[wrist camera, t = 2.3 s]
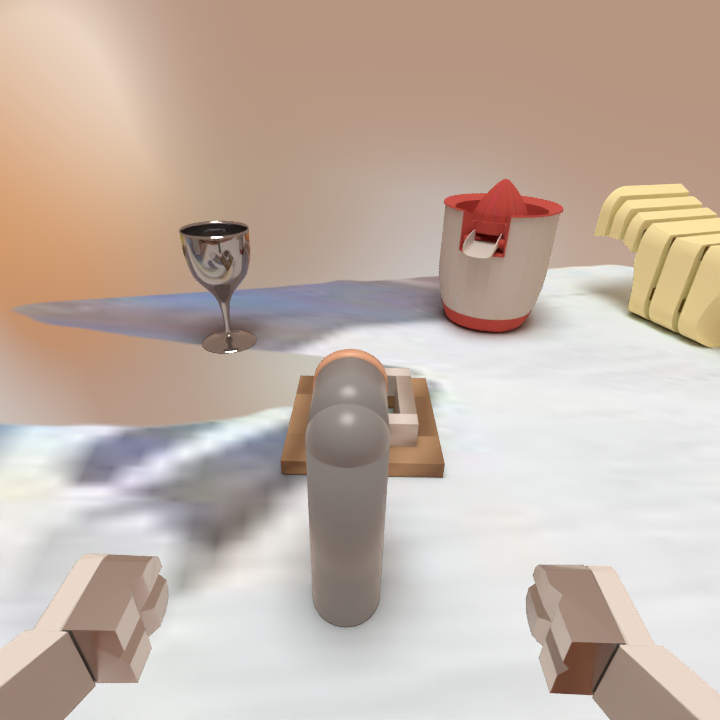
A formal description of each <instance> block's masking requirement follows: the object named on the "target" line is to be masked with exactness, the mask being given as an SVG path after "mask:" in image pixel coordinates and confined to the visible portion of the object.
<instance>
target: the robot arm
mask: <svg viewBox="0 0 720 720" xmlns="http://www.w3.org/2000/svg"><path fill="white" fill-rule="evenodd" d="M161 568H162V565H161V562H160V560H159V557H155V556H131V555H110V554H85V555H83V556H82V557H81V558H80V559H79V560H78V561H77V562H76V563H75V565H74V567H73V568H72V570H71V571H70V573H69V574H68V576H67V578H66V579H65V581H64V582H63V584H62V585H61V587H60V589H59V590H58V592H57V593H56V595H55V596H54V598H53V600H52V601H51V603H50V604H49V606H48V607H47V609H46V611H45V612H44V614H43V615H42V617H41V618H40V620H39V621H38V623H37V625H36V626H35V628H34V629H33V630H25V631H24V632H23V633H21V634H20V635H19V636H17V637H16V638H15V639H13V640H12V641H11V642H9V643H8V644H7V645H5V646H4V647H3V648H1V649H0V720H64V719H65V718H66V717H67V716H68V715H69V714H70V712H71V711H72V710H73V709H74V708H75V707H76V706H77V705H78V704H79V703H80V702H81V701H82V700H83V699H84V698H85V697H86V695H87V694H88V693H89V692H90V691H91V690H92V689H93V688H94V687H95V683H138V681H139V679H140V676H141V674H142V671H143V669H144V666H145V664H146V661H147V659H148V656H149V654H150V651H151V649H152V647H151V644H150V640H149V636H150V635H151V634H152V633H153V632H155V631H156V630H157V629H158V628H159V627H160V626H161V623H162V620H163V618H164V615H165V613H166V608H167V602H168V585H167V581H166V579H164V578H163V577H162V576H161V575H159V572H160V570H161ZM533 578H534V580H535V584H534V585H532V586H531V587H530V588H528V592H527V596H526V614H527V619H528V624H529V627H530V631H531V634H532V636H533V637H534V638H535V639H536V640H537V641H538V642H539V643H540V644H541V645H542V646H543V647H542V650H541V653H540V655H539V660H540V663H541V666H542V670H543V673H544V676H545V679H546V682H547V686H548V689H549V692H550V693H560V694H578V695H593V697H592V698H593V699H594V701H595V702H596V703H597V704H598V705H599V707H600V708H601V709H602V710H603V712H604V713H605V714H606V715H607V716H608V718H609V719H610V720H720V694H718V693H717V692H716V691H715V690H714V689H713V688H711V687H710V686H709V685H708V684H707V683H706V682H704V681H703V680H702V679H701V678H700V677H699V676H697V675H696V674H695V673H694V672H693V671H692V670H690V669H689V668H688V667H687V666H686V665H685V664H683V663H682V662H681V661H680V660H679V659H678V658H676V657H675V656H674V655H673V654H672V653H671V652H669V651H668V650H667V649H666V648H665V647H664V646H656V645H655V644H654V642H653V640H652V638H651V636H650V635H649V633H648V631H647V629H646V627H645V625H644V623H643V621H642V620H641V618H640V616H639V614H638V612H637V610H636V608H635V607H634V605H633V603H632V601H631V599H630V597H629V595H628V594H627V592H626V590H625V588H624V586H623V584H622V582H621V580H620V579H619V577H618V575H617V573H616V571H615V570H614V569H613V568H612V567H610V566H584V565H538V566H537V567H535V570H534V573H533Z"/></svg>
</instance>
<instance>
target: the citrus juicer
mask: <svg viewBox="0 0 720 720" xmlns="http://www.w3.org/2000/svg"><path fill="white" fill-rule="evenodd" d="M444 203H445V205H446V206H445V216H444V225H443V234H442V244H441V254H440V263H439V281H440V290H441V296H442V303H443V307H444V310H445V313H446V316H447V317H448V318H449V319H450V320H451V321H452V322H455V323H457V324H459V325H461V326H464V327H467V328H471V329H475V330H481V331H494V332H505V331H507V330H512V329H515V328H517V327H519V326H520V325H521V324H522V323H523V322H524V321H525V319H526V318H527V317H528V315H529V314H530V312H531V310H532V307H533V306H534V304H535V302H536V300H537V298H538V296H539V294H540V291H541V289H542V287H543V283H544V280H545V276H546V273H547V269H548V265H549V260H550V256H551V251H552V247H553V243H554V238H555V234H556V229H557V225H558V221H559V216H560V213H561V212H563V207H562V206H561V205H559V204H557V203H554V202H551V201H547V200H543V199H538V198H533V197H526V196H521V195H520V194H519V192H518V190H517V189H516V188H515V186H514V185H513V184H512V183H511V181H510V180H508V179H504V180H502V181H500V182H499V183H498V184H497V185H495V186H494V187H493V188H492V189H491V190H490V191H489V192H488V193H487V194H486V193H485V194H484V193H480V194H461V195H454V196H450V197H448V198H446V199H445V200H444Z"/></svg>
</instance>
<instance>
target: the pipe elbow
mask: <svg viewBox="0 0 720 720" xmlns="http://www.w3.org/2000/svg"><path fill="white" fill-rule="evenodd" d="M387 392H388V381H387V374H386V371H385V369H384V367H383V365H382V364H381V363H380V361H379V360H378V359H376V358H375V357H374V356H372V355H371V354H369V353H367V352H364V351H361V350H356V349H345V350H340V351H336V352H334V353H332V354H330V355H328V356H327V357H325V358H324V359H323V360H322V361H321V363H320V364H319V365H318V367H317V369H316V371H315V375H314V381H313V395H312V401H311V407H310V412H309V418H308V423H307V429H306V436H305V445H306V466H307V486H308V507H309V527H310V547H311V568H312V588H313V602H314V606H315V608H316V610H317V612H318V613H319V615H320V616H321V617H322V618H323V619H324V620H326V621H327V622H329V623H331V624H333V625H336V626H340V627H351V626H356V625H359V624H361V623H363V622H365V621H366V620H368V619H369V618H370V617H371V616H372V615H373V614H374V612H375V611H376V609H377V607H378V604H379V599H380V584H381V570H382V555H383V540H384V525H385V510H386V495H387V480H388V465H389V450H390V429H389V416H388V403H387Z"/></svg>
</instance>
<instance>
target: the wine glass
mask: <svg viewBox="0 0 720 720" xmlns="http://www.w3.org/2000/svg"><path fill="white" fill-rule="evenodd" d="M179 234H180V240H181V245H182V249H183V253H184V256H185V259H186V262H187V265H188V267H189V269H190V271H191V273H192V275H193V277H194V278H195V279H196V280H197V281H198V282H199V283H200V284H201V285H202V286H204V287H205V288H206V289H207V290H208V291H210V292H211V293H212V294H213V295H214V296H215V298H216V299H217V301H218V302H219V305H220V308H221V311H222V315H223V320H224V326H225V330H223V331H218V332H215V333H213V334H210V335H209V336H207V337H206V338H205V339H204V340H203V342H202V347H203V348H204V349H205V350H207V351H210V352H213V353H219V354H228V353H236V352H240V351H243V350H246V349H248V348H250V347H252V346H253V345H254V344H255V343H256V340H257V339H256V336H255V335H254V334H253V333H251V332H249V331H245V330H238V329H231V326H230V310H229V309H230V300H231V297H232V295H233V293H234V291H235V290H236V288H237V287H238V286H239V284H240V283H241V282H242V280H243V279H244V278H245V276H246V274H247V271H248V267H249V261H250V236H249V228H248V226H247V225H246V224H243V223H239V222H233V221H206V222H199V223H193V224H189V225H186V226H183V227H181V228H180V230H179Z"/></svg>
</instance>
